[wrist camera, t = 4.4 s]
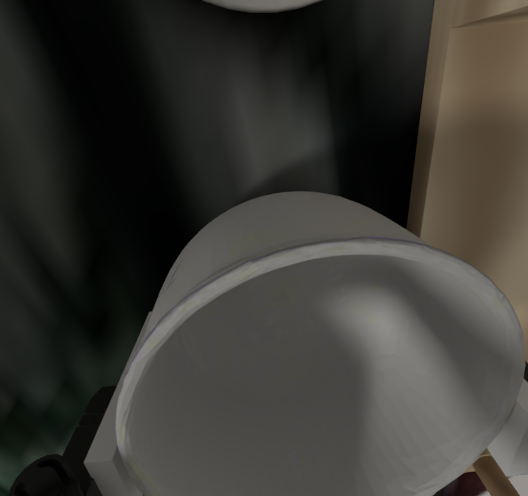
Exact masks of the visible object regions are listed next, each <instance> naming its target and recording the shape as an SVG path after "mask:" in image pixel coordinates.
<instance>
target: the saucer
mask: <svg viewBox="0 0 528 496" xmlns="http://www.w3.org/2000/svg"><path fill="white" fill-rule="evenodd" d="M202 1H204V2H207V3H211V4H214V5H217V6H220V7H223V8H226V9H231V10H237V11H244V12H250V13H276V12H282V11H288V10H294V9H299V8H302V7H305V6H308V5H311V4H314V3H317V2H320V1H322V0H202Z"/></svg>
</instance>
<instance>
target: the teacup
mask: <svg viewBox="0 0 528 496" xmlns="http://www.w3.org/2000/svg"><path fill="white" fill-rule="evenodd" d="M524 371H525V344H524V333H523V331H522V328H521V325H520V322H519V320H518V317H517V315H516V313H515V311H514V308H513V307H512V305H511V303H510V302H509V300H508V299H507V297H506V296H505V295H504V293H503V292H502V291H501V290H500V289H499V288H498V287H497V286H496V285H495V284H494V283H493V281H492V280H491V279H490V278H489V277H488V276H487V275H485V274H484V273H482V272H481V271H480V270H478V269H477V268H475V267H474V266H473V265H471V264H469V263H468V262H466V261H464V260H462V259H460V258H458V257H456V256H454V255H452V254H450V253H448V252H446V251H443V250H440V249H438V248H435V247H432V246H430V245H429V244H427V243H426V242H424V241H423V240H421V239H420V238H418V237H417V236H415V235H414V234H412V233H411V232H409V231H408V230H406V229H404V228H403V227H401V226H399V225H398V224H396V223H395V222H393V221H391V220H390V219H388V218H386V217H385V216H383V215H381V214H379V213H377V212H375V211H374V210H372V209H370V208H368V207H366V206H364V205H361V204H359V203H356V202H354V201H351V200H348V199H345V198H343V197H340V196H335V195H330V194H325V193H320V192H307V191H295V192H281V193H275V194H270V195H265V196H261V197H258V198H255V199H252V200H249V201H246V202H244V203H242V204H239V205H237V206H235V207H233V208H231V209H229V210H228V211H226V212H224V213H223V214H221V215H219V216H218V217H217V218H215V219H214V220H212V221H211V222H210V223H208V224H207V225H206V226H205V227H204V228H203V229H201V230H200V231H199V232H198V233H197V234H196V235H195V237H194V238H193V239H192V240H191V241H190V242H189V243H188V244H187V245H186V247H185V248H184V249H183V251H182V252H181V253H180V255H179V256H178V258H177V260H176V261H175V263H174V265H173V266H172V268H171V270H170V271H169V274H168V276H167V278H166V280H165V282H164V284H163V286H162V288H161V290H160V293H159V296H158V298H157V301H156V303H155V306H154V309H153V312H152V314H151V317H150V320H149V322H148V325H147V328H146V331H145V334H144V337H143V340H142V342H141V344H140V346H139V347H138V349H137V351H136V353H135V354H134V356H133V358H132V360H131V362H130V364H129V366H128V368H127V371H126V374H125V377H124V380H123V383H122V386H121V390H120V394H119V398H118V402H117V408H116V418H115V421H116V438H117V444H118V449H119V452H120V454H121V459H122V463H123V465H124V467H125V469H126V471H127V473H128V475H129V476H130V478H131V479H132V480H133V481H134V483H135V485H136V486H137V488H138V489H139V490H140V491H141V493H142V494H143V495H144V496H432V495H434V494H435V493H436V492H437V491H438V490H440V489H441V488H443V487H444V486H446V485H447V484H449V483H450V482H452V481H453V480H455V479H456V478H457V477H459V476H460V475H461V474H463V473H464V472H465V471H466V469H467V468H468V467H469V466H471V465H472V464H473V463H474V462H475V461H476V460H477V459H478V458H479V456H480V455H481V453H482V452H483V451H484V450H485V449H486V448H487V447H488V446H489V445H490V443H491V442H492V441H493V440H494V439H495V437H496V436H497V435H498V434H499V432H500V431H501V430H502V427H503V424H504V422H505V421H506V419H507V418H508V417H509V415H510V414H511V411H512V409H513V407H514V405H515V403H516V399H517V396H518V393H519V390H520V388H521V385H522V382H523V377H524Z"/></svg>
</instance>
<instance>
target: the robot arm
mask: <svg viewBox="0 0 528 496" xmlns="http://www.w3.org/2000/svg"><path fill="white" fill-rule="evenodd" d="M151 314H152V312H149V314H148V316H147V319H146V321H145V323H144V325H143V328H142V330H141V332H140V335H139V337H138V339H137V341H136V344H135V346H134V348H133V351H132V353H131V355H130V358H129V360H128V362H127V364H126V367H125V369H124V371H123V374H122V376H121V378H120V380H119V383H118V385H117V386H109V387H102V388H101V389H100V390H99V391H98V392H97V393H96V394H95V395H94V396H93V398H92V399H91V400H90V402H89V404H88V406H87V408H86V410H85V412H84V416H82V418H81V420H80V422H79V424H78V428H76V430H75V432H74V434H73V436H72V438H71V440H70V442H69V444H68V446H67V448H66V449H65V451H64V453H63V455H62V456H60V455H58V454H53V455H47V456H44V457H42V458H40V459H37V460H36V461H34V462H33V463H32V464H30V465H29V466H27V467H26V468H25V469H24V470H23V471H22V472H21V473H20V475H19V476H18V477H17V478H16V480H15V482H14V483H13V485H12V487H11V489H10V494H9V496H143V494H142V493H141V491H140V490H139V489H138V488H137V486H136V485H135V483H134V481H133V480H132V479H131V478H130V476H129V475H128V473H127V471H126V469H125V467H124V465H123V463H122V459H121V454H120V452H119V449H118V444H117V438H116V421H115V418H116V408H117V402H118V398H119V394H120V390H121V386H122V383H123V380H124V377H125V374H126V371H127V368H128V366H129V364H130V362H131V360H132V358H133V356H134V354H135V353H136V351H137V349H138V347H139V346H140V344H141V342H142V340H143V337H144V334H145V331H146V328H147V325H148V322H149V320H150V317H151ZM487 449H488V450H489V452H490V453H491V455H492V456H493V458H494V459H495V461H496V462H497V464H498V465H499V467H500V468H501V470H502V471H503V473H504V474H505V475H506V477H507V476H516V475H525V474H528V363H527V362H526V361H525V371H524V377H523V382H522V385H521V388H520V390H519V393H518V396H517V399H516V403H515V405H514V407H513V409H512V411H511V414H510V415H509V417H508V418H507V419H506V421H505V422H504V424H503V427H502V430H501V431H500V432H499V434H498V435H497V436H496V437H495V439H494V440H493V441H492V442H491V443H490V445H489V446H488V447H487Z"/></svg>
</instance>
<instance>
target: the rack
mask: <svg viewBox="0 0 528 496" xmlns="http://www.w3.org/2000/svg"><path fill="white" fill-rule="evenodd" d="M406 230H408V231H409V232H411V233H412V234H414V235H415V236H417V237H418V238H420V239H421V240H423V241H424V242H426V243H427V244H429V245H430V246H432V247H435V248H438V249H440V250H443V251H446V252H448V253H450V254H452V255H454V256H456V257H458V258H460V259H462V260H464V261H466V262H468V263H469V264H471V265H473V266H474V267H475V268H477V269H478V270H480V271H481V272H482V273H484V274H485V275H487V276H488V277H489V278H490V279H491V280H492V281H493V283H494V284H495V285H496V286H497V287H498V288H499V289H500V290H501V291H502V292H503V293H504V295H505V296H506V297H507V299H508V300H509V302H510V303H511V305H512V307H513V308H514V311H515V313H516V315H517V317H518V320H519V322H520V325H521V328H522V331H523V333H524V344H525V361H526V362H527V363H528V0H435V2H434V10H433V18H432V27H431V35H430V43H429V51H428V59H427V67H426V75H425V83H424V91H423V99H422V107H421V115H420V123H419V132H418V140H417V148H416V156H415V164H414V172H413V180H412V188H411V196H410V204H409V212H408V220H407V228H406ZM471 471H476V473H477V474H478V476H479V477H480V479H481V480H482V482H483V484H484V485H485V487H486V488H487V490H488V492H489V493H490V495H491V496H519V494H518V492H517V491H516V490H515V488H514V487H513V485H512V484H511V483H510V481H509V480H508V478H507V477H506V475H505V474H504V473H503V471H502V470H501V468H500V467H499V465H498V464H497V462H496V461H495V459H494V458H493V456H492V455H491V453H490V452H489V450H488V449H487V448H486V449H485V450H484V451H483V452H482V453H481V455H480V456H479V458H478V459H477V460H476V461H475V462H474V463H473V464H472V465H471V466H469V467H468V468H467V469H466V471H465V472H471Z"/></svg>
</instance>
